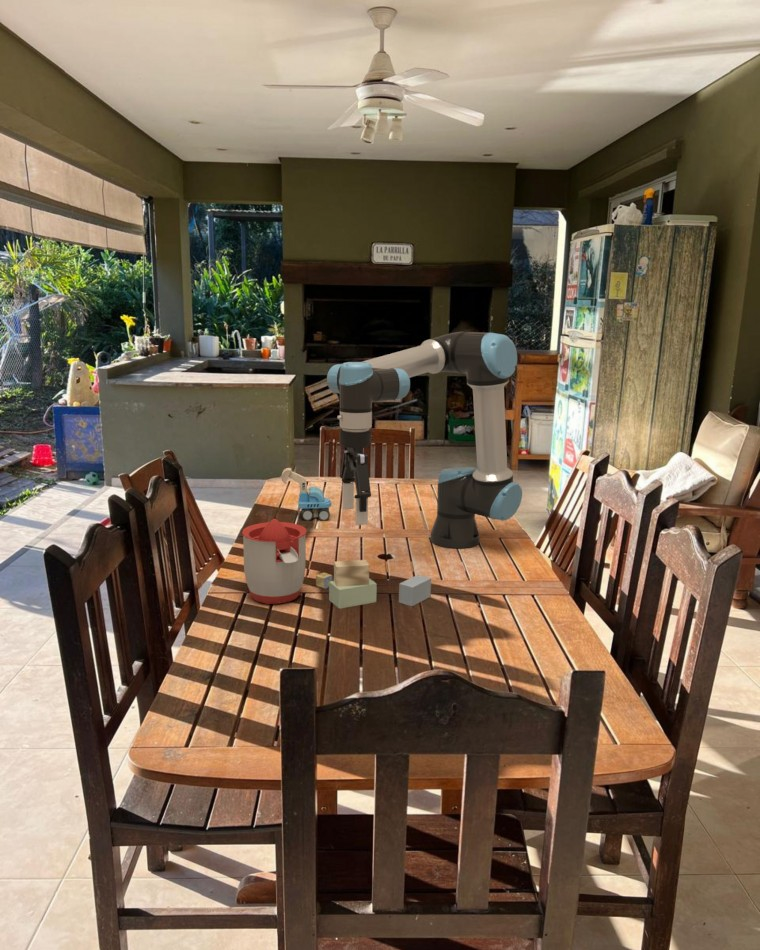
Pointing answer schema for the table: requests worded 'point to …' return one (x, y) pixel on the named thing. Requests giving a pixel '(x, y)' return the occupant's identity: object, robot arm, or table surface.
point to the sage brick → (352, 594)
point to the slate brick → (414, 590)
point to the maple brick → (351, 573)
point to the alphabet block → (323, 580)
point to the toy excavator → (309, 498)
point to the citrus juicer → (274, 560)
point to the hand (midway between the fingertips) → (354, 516)
